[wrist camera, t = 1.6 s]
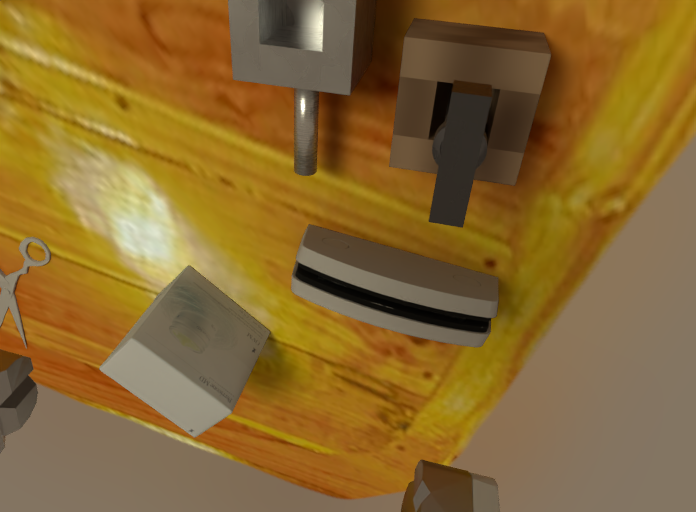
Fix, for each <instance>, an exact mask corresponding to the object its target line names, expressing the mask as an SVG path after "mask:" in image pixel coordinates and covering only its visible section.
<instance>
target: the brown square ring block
mask: <svg viewBox="0 0 696 512" xmlns="http://www.w3.org/2000/svg"><path fill="white" fill-rule="evenodd" d="M550 58H551V52H550V49H549V46H548V43H547V41H546V38H545V35H544V33H540V32H531V31H523V30H514V29H505V28H496V27H487V26H479V25H470V24H461V23H452V22H443V21H434V20H426V19H417V18H414V20H413V22H412V24H411V25H410V27H409V29H408V31H407V33H406V35H405V37H404V45H403V54H402V62H401V70H400V79H399V87H398V96H397V104H396V113H395V121H394V130H393V138H392V147H391V155H390V163H389V167H395V168H402V169H409V170H415V171H422V172H428V173H435V174H437V172H438V165H437V163H436V162H435V160H434V158H433V154H432V145H433V140H434V136H435V133H436V131H437V129H438V128H439V127H440V126H441V124H443V123H444V122H445V116H446V111H447V105H448V99H449V94H450V89H451V87H452V86H453V82H454V80H458V81H466V82H474V83H481V84H489V85H492V99H491V103H490V108H489V112H488V117H487V121H486V126H485V132H486V135H487V154H486V157H485V159H484V161H483V163H482V164H481V165H480V166H479V167H478V168H477V169H476V170H475V175H474V180H481V181H488V182H494V183H501V184H507V185H514V186H515V184H516V180H517V177H518V173H519V170H520V166H521V162H522V159H523V155H524V152H525V148H526V144H527V141H528V137H529V134H530V130H531V126H532V123H533V119H534V115H535V112H536V108H537V105H538V101H539V97H540V94H541V90H542V87H543V83H544V79H545V76H546V72H547V69H548V65H549V61H550Z"/></svg>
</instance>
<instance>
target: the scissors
mask: <svg viewBox="0 0 696 512" xmlns="http://www.w3.org/2000/svg"><path fill="white" fill-rule="evenodd" d="M30 242H34V243H37V244H39V245H41V246H42V247H43V248H44V250H45V252H46V259H45V260H43V261H37V260H34V259H32V258H31V257H30V256H29V254H28V252H27V247H28V243H30ZM19 250H20V252H21V253H22V255H23V257H24V258H25V261H24V267H23V268H22V269H20V270H19V271H17V272H14V273H11V274H9V275H7V276H6V275H5V274H4V273H3V271H2V270H1V269H0V287H1V288H2V290H1V295H0V326H1V324H2V322H3V319H4V316H5V314H6V312H7V309H8V307H10V310H11V312H12V315H13V317H14V320H15V322H16V325H17V327H18V329H19V332H20V334H21V337H22V339H23V341H24V344H25V346H26V342H25V336H24V331H23V326H22V321H21V316H20V312H19V308H18V304H17V300H16V297H15V294H14V291H15V288H16V283H17V280H18V278H19V275H20V274H26V273H27V272H28V267H29V266H42V265H44V264H46V263H48V262H49V260H50V259H51V253H50V250H49V248H48V247H47V245H46V244H45V243H44V242H43V241H42V240H40V239H38V238H35V237H28V238H25V239H24V240H23V241H22V242H21V244H20V247H19ZM26 349H27V347H26Z"/></svg>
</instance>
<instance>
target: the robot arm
mask: <svg viewBox="0 0 696 512" xmlns="http://www.w3.org/2000/svg"><path fill="white" fill-rule="evenodd" d="M32 370H33V366H32V362H31V358H29V357H26V356H22V355H19V354H15V353H12V352H8V351H5V350H1V349H0V453H1V451H2V450H3V449H4V448H5V436H6V435H8V434H10V433H13V432H14V431H17V430H19V429H20V428H21V427H22V426H23V425H24V423H25V422H26V421H27V420H28V418H29V417H30V415H31V413H32V411H33V409H34V407H35V404H36V401H37V394H38V391H37V386H36V383H35V382H34V381H33V380H32V379H31V378H30V377H29V376H28V375H29V374H30V372H31V371H32ZM401 512H500V508H499V496H498V485H497V483H496V481H495V479H493V478H490V477H486V476H482V475H478V474H474V473H470V472H468V471H466V470H461V469H457V468H453V467H449V466H445V465H441V464H437V463H433V462H429V461H425V460H420V461H419V462H418V464H417V466H416V468H415V476H414V481H412V482H410V483H409V484H408V487H407V489H406V492H405V495H404V499H403V503H402V508H401Z"/></svg>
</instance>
